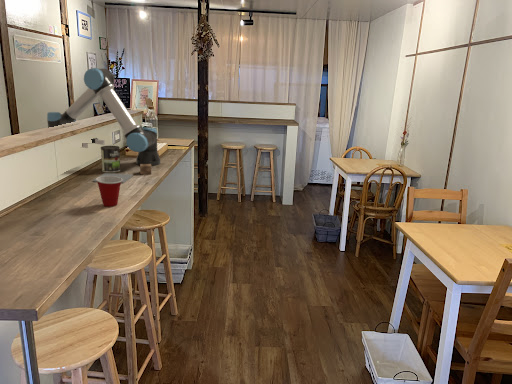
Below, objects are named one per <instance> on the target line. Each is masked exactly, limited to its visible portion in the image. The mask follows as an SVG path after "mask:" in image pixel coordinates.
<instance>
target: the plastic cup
mask: <svg viewBox="0 0 512 384" xmlns="http://www.w3.org/2000/svg"><path fill="white" fill-rule="evenodd" d="M100 176H101V175H100ZM95 179H96V181H97V182H96V183H97V186H98V189H99V193H100V198H101V202H102V205H103V206H104V207H108V208H109V207H110V208H111V207H116V206H117V205H118V203H119V197H120V188H121V184H122V183H121V182H122V180H123V179H122V178H120V177H115V176H101V177H99V176H98V177H96V178H95Z"/></svg>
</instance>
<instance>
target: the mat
mask: <svg viewBox="0 0 512 384" xmlns="http://www.w3.org/2000/svg"><path fill="white" fill-rule="evenodd" d="M101 176H115V177H120V178H122V179H123V180H122V182H121V184H124V183H126V182H127V181H128V180H130V179H131V178H132V177H134V174H129V173H126V174H124V173H107V172H103V174H101V175H99V176H98V177H101ZM92 182H94V183H97V181H96V178H95V179H92Z"/></svg>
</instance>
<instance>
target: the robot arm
mask: <svg viewBox="0 0 512 384" xmlns="http://www.w3.org/2000/svg"><path fill="white" fill-rule="evenodd" d="M115 80H116V79H115V76H114V74H113V72H112V71H110V69H107V68H97V67H91V68H89V69H87V70H86V71H85V73H84V75H83V82H84V84H85V86H86V87H87V89H86V90H85V91H84V92H83V93H82V94H81V95H80V96H79V97H78V98H77V99H76V100H75V101H73V103H72V104H71V105H70V106H69V107H68V108H67V109H66V110H65V111H64V112H63V113H62V114H61V112H59V111H49V112H47V115H46V120H47V129H48V128H49V127H54V126H58V125H62V124H66V123H71V122H75V123H76V120H77V119H78V118H79V117H80V116H81V115H82V114H83V113H84V112H85V111H86V110H87V109H88V108H89V107H90V106H91V105H93V104H94V102H96V100H97V99H98V98H99V97H100V98H101V99H102V101H103V102H104V103H105V105H106V107H107V108H108V110H109V111H110V112H111V114H112V116H113V117H114V119H115V120H116V122H117V124H119V126H120V127H121V129H122V131H123V132H124V134H123V137H124V138H125V140H126V141H125V142H126V146H127V148H128V149H129V150H131V151H132V152H135V153H138V154H137V156H136V160H135V161H136V162H135V163H136V165H139V166H140V164H151V167H152V166H157V165H158V166H159V165H160V164H161V157H160V156H159V152H158V131H157V130H158V129H156V128H155V127H154V128H153V127H142V125H140V124H138V123H137V122H136V121H135V120H134V117H132V114H131V113H130V112H129V110H128V109H127V107H126V105H125V104H124V103H123V102H122V100H121V98H120V97H119V95H118V94H117V93H116V91H115ZM92 138H93V139H91V140H92V143H91V144H96V145H101V146H106V145H105V139H99V138H97V137H95V138H94V137H92ZM88 144H89V143H82V147H81V148H84V149H88V148H89V147H88Z"/></svg>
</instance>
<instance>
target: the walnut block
mask: <svg viewBox="0 0 512 384" xmlns="http://www.w3.org/2000/svg"><path fill="white" fill-rule="evenodd" d="M139 169H140V170H139V173H140V174H147V175H152V166H151V164H140V165H139Z"/></svg>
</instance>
